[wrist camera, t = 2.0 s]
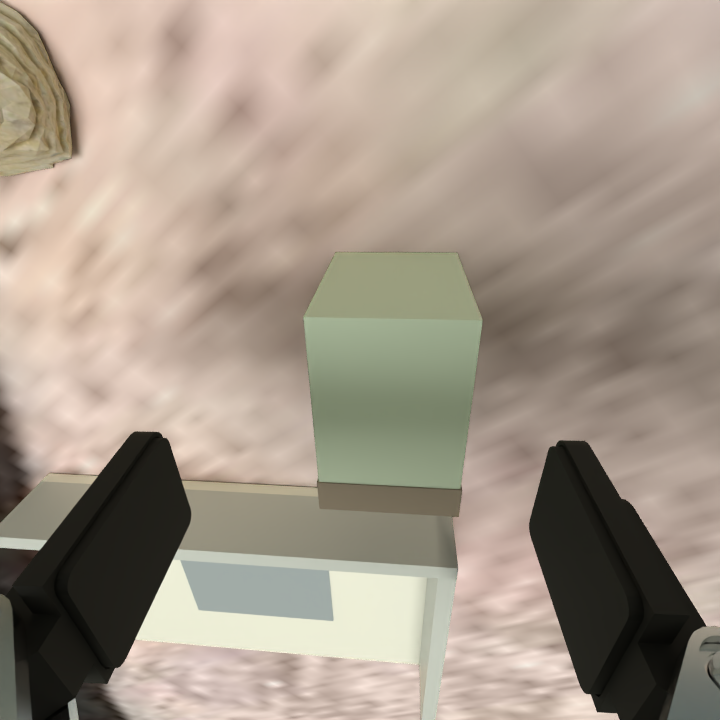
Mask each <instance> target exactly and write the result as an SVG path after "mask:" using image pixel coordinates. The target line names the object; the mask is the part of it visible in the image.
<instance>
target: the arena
mask: <svg viewBox="0 0 720 720" xmlns="http://www.w3.org/2000/svg"><path fill="white" fill-rule="evenodd" d="M97 477H98V476H91V475H72V474H53V473H49V474H48V475H47V476H46V477H45V478H44V479H43V480H42V481H41V482H40V483H39V484H38V485H37V486H36V487H35V488H34V489H33V490H32V491H31V492H30V493H29V494H28V495H27V496H26V497H25V498H24V499H23V500H22V501H21V502H20V504H19V505H18V506H17V507H16V508H15V509H14V510H13V511H12V512H11V513H10V514H9V515H8V516H7V517H6V518H5V519H4V520H3V521H2V522H1V523H0V548H15V549H29V550H40V549H41V548H42V547H43V545H44V544H45V543H46V542H47V540H48V539H49V538H50V537H51V535H52V534H53V533H54V531H55V530H56V529H57V528H58V526H59V525H60V524H61V523H62V521H63V520H64V519H65V517H66V516H67V515H68V514H69V512H70V511H71V510H72V509H73V507H74V506H75V505H76V503H77V502H78V501H79V500H80V498H81V497H82V496H83V495H84V493H85V492H86V491H87V490H88V488H89V487H90V486H91V484H92V483H93V482H94V481H95V479H96V478H97ZM182 484H183V487H184V490H185V493H186V496H187V499H188V502H189V505H190V508H191V522H190V525H189V527H188V529H187V531H186V533H185V535H184V538H183V540H182V542H181V544H180V546H179V548H178V550H177V552H176V554H175V556H174V559H173V561H172V563H171V565H170V567H169V569H168V571H167V573H166V575H165V577H164V580H163V582H162V584H161V586H160V588H159V590H158V592H157V594H156V596H155V598H154V601H153V603H152V605H151V607H150V609H149V611H148V613H147V615H146V617H145V619H144V622H143V624H142V626H141V628H140V630H139V632H138V634H137V636H136V638H135V640H145V641H156V642H168V643H179V644H190V645H202V646H213V647H224V648H235V649H247V650H258V651H269V652H281V653H292V654H303V655H315V656H326V657H337V658H348V659H360V660H371V661H382V662H394V663H405V664H416V665H419V679H420V718H421V720H435V718H436V711H437V705H438V698H439V692H440V685H441V678H442V672H443V665H444V658H445V652H446V645H447V639H448V632H449V625H450V619H451V612H452V605H453V599H454V592H455V586H456V579H457V572H458V563H457V555H456V546H455V538H454V529H453V520H452V517H450V516H433V515H416V514H399V513H382V512H365V511H348V510H331V509H319V499H318V488H315V487H297V486H278V485H259V484H240V483H222V482H203V481H184V480H182Z"/></svg>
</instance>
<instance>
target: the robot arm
mask: <svg viewBox="0 0 720 720" xmlns="http://www.w3.org/2000/svg"><path fill="white" fill-rule="evenodd" d="M190 522H191V508H190V505H189V502H188V499H187V496H186V493H185V490H184V487H183V484H182V480H181V477H180V474H179V471H178V468H177V465H176V462H175V459H174V456H173V453H172V450H171V446H170V443H169V441H168V439H166V438H163V437H162V435H161V434H160V433H159V432H134V433H132V434H131V435H130V436H129V437H128V439H127V440H126V441H125V442H124V444H123V445H122V446H121V448H120V449H119V450H118V451H117V453H116V454H115V455H114V456H113V458H112V459H111V460H110V462H109V463H108V464H107V465H106V467H105V468H104V469H103V470H102V472H101V473H100V474H99V476H98V477H97V478H96V479H95V481H94V482H93V483H92V484H91V486H90V487H89V488H88V490H87V491H86V492H85V493H84V495H83V496H82V497H81V498H80V500H79V501H78V502H77V503H76V505H75V506H74V507H73V509H72V510H71V511H70V512H69V514H68V515H67V516H66V517H65V519H64V520H63V521H62V523H61V524H60V525H59V526H58V528H57V529H56V530H55V531H54V533H53V534H52V535H51V537H50V538H49V539H48V540H47V542H46V543H45V544H44V545H43V547H42V548H41V549H40V550H39V552H38V553H37V554H36V556H35V557H34V558H33V559H32V561H31V562H30V563H29V564H28V566H27V567H26V568H25V570H24V571H23V572H22V573H21V575H20V576H19V577H18V578H17V580H16V581H15V582H14V584H13V585H12V586H13V587H12V588H11V590H10V591H9V592H8V594H7V595H6V596H4V595H0V720H79V719H78V712H77V706H76V699H75V697H76V695H77V693H78V691H79V689H80V688H81V686H82V684H83V682H85V683H102V684H107V683H108V681H109V679H110V677H111V675H112V673H113V671H114V669H115V668H118V667H120V666H121V665H122V664H123V662H124V661H125V659H126V657H127V655H128V653H129V651H130V649H131V647H132V645H133V643H134V640H135V638H136V636H137V634H138V632H139V630H140V628H141V626H142V624H143V622H144V619H145V617H146V615H147V613H148V611H149V609H150V607H151V605H152V603H153V601H154V598H155V596H156V594H157V592H158V590H159V588H160V586H161V584H162V582H163V580H164V577H165V575H166V573H167V571H168V569H169V567H170V565H171V563H172V561H173V559H174V556H175V554H176V552H177V550H178V548H179V546H180V544H181V542H182V540H183V538H184V535H185V533H186V531H187V529H188V527H189V525H190ZM529 530H530V536H531V539H532V542H533V545H534V548H535V551H536V554H537V557H538V560H539V563H540V566H541V569H542V572H543V575H544V578H545V581H546V584H547V587H548V590H549V593H550V596H551V599H552V602H553V605H554V609H555V612H556V615H557V618H558V621H559V624H560V627H561V630H562V633H563V636H564V639H565V642H566V645H567V648H568V651H569V654H570V657H571V660H572V663H573V666H574V669H575V672H576V675H577V678H578V681H579V684H580V686H581V688H582V690H583V691H584V692H585V693H586V694H591V696H592V699H593V701H594V704H595V707H596V710H597V712H604V713H617V714H618V716H619V719H620V720H720V627H717V626H712V627H707V626H706V625H705V623H704V621H703V620H702V618H701V616H700V615H699V613H698V612H697V610H696V608H695V607H694V605H693V603H692V602H691V600H690V598H689V597H688V595H687V594H686V592H685V590H684V589H683V587H682V585H681V584H680V582H679V581H678V579H677V577H676V576H675V574H674V572H673V571H672V569H671V567H670V566H669V564H668V563H667V561H666V559H665V558H664V556H663V554H662V553H661V551H660V550H659V548H658V546H657V545H656V543H655V541H654V540H653V538H652V536H651V535H650V533H649V532H648V530H647V528H646V527H645V525H644V523H643V522H642V520H641V519H640V517H639V515H638V514H637V512H636V510H635V509H634V508H633V506H632V505H631V504H630V503H629V502H628V501H626V500H625V499H621V498H620V496H619V494H618V492H617V491H616V489H615V487H614V486H613V484H612V482H611V481H610V479H609V477H608V476H607V474H606V472H605V471H604V469H603V467H602V466H601V464H600V462H599V461H598V459H597V457H596V455H595V454H594V452H593V450H592V449H591V447H590V445H589V444H588V443H587V442H585V441H563V440H561V441H559V442H558V443H557V445H556V447H555V446H552V447H550V448H549V451H548V454H547V458H546V462H545V465H544V469H543V473H542V477H541V480H540V484H539V488H538V492H537V495H536V499H535V503H534V507H533V510H532V514H531V518H530V523H529Z"/></svg>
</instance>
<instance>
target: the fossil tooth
mask: <svg viewBox="0 0 720 720" xmlns="http://www.w3.org/2000/svg"><path fill="white" fill-rule="evenodd" d="M71 158H72V140H71V129H70V104H69V101H68V98H67V95H66V93H65V91H64V89H63V87H62V86H61V84H60V82H59V80H58V78H57V75H56V73H55V71H54V69H53V66H52V64H51V61H50V59H49V56H48V54H47V52H46V49H45V47H44V45H43V43H42V41H41V39H40V37H39V35H38V32H37V31H36V30H35V29H34V28H33V27H32V26H31V25H30V24H29V23H28V22H27V21H26V20H25V19H24V18H23V17H22V16H21V15H20V14H19V13H18V12H17V11H15V10H13V9H12V8H10V7H8V6H6V5H5V4H3V3H1V2H0V176H12V175H16V174H21V173H26V172H30V171H36V170H42V169H48V168H53V163H60V162H62V161H63V160H65V159H71Z"/></svg>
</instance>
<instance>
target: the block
mask: <svg viewBox="0 0 720 720" xmlns="http://www.w3.org/2000/svg"><path fill="white" fill-rule="evenodd" d="M303 320H304V330H305V341H306V351H307V362H308V373H309V383H310V394H311V405H312V415H313V426H314V437H315V447H316V458H317V468H318V481H317V488H318V499H319V509H331V510H348V511H365V512H382V513H399V514H416V515H433V516H450V517H459V510H460V502H461V495H462V487H461V480H462V473H463V465H464V458H465V450H466V443H467V435H468V427H469V420H470V412H471V405H472V397H473V390H474V382H475V375H476V367H477V360H478V352H479V344H480V337H481V329H482V322H483V320H482V317H481V315H480V312H479V309H478V307H477V304H476V301H475V299H474V296H473V293H472V291H471V288H470V285H469V283H468V280H467V278H466V275H465V272H464V270H463V267H462V264H461V262H460V259H459V256H458V254H457V253H431V252H336V253H335V255H334V257H333V259H332V261H331V263H330V265H329V267H328V269H327V271H326V273H325V275H324V277H323V279H322V281H321V283H320V285H319V287H318V289H317V291H316V293H315V295H314V297H313V299H312V301H311V303H310V305H309V307H308V309H307V311H306V313H305V315H304V317H303Z"/></svg>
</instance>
